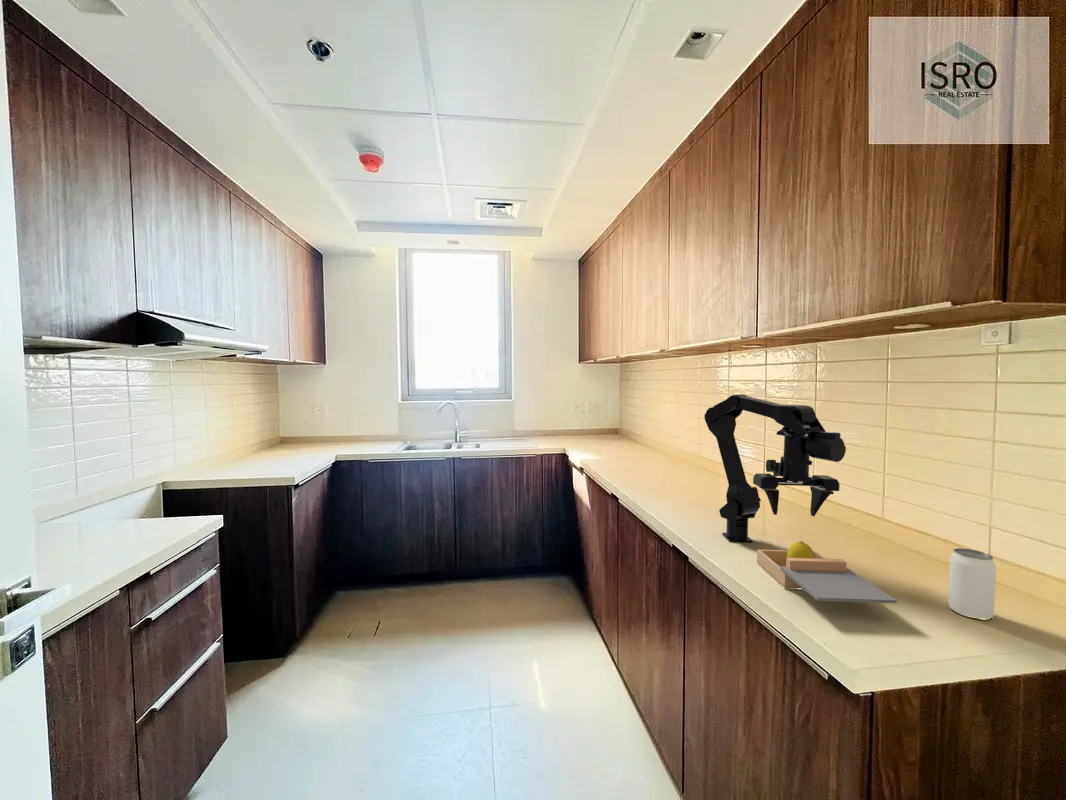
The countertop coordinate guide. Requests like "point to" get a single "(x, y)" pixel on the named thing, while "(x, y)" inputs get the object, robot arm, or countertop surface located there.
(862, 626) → the countertop surface
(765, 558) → the box
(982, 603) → the can
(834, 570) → the lid
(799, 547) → the lemon
